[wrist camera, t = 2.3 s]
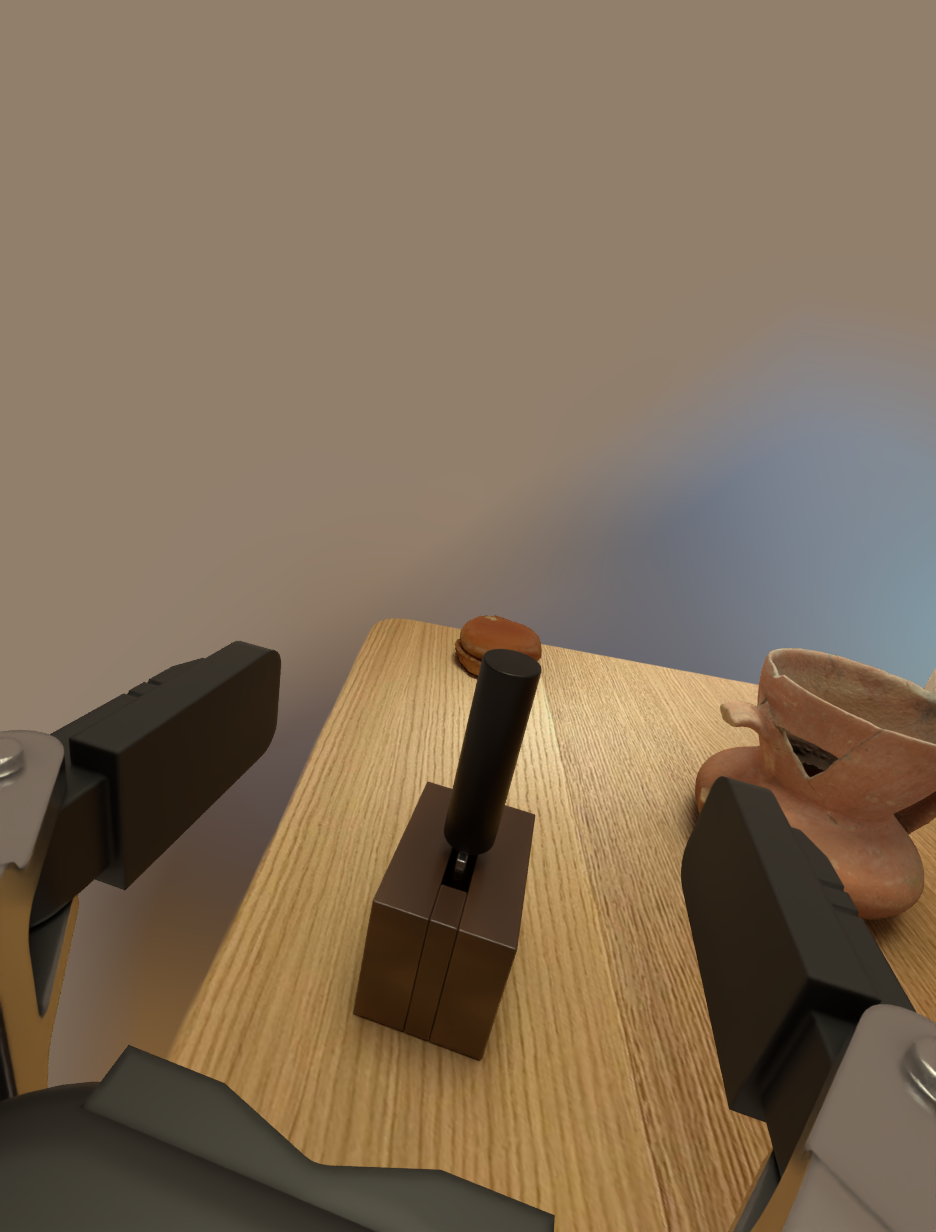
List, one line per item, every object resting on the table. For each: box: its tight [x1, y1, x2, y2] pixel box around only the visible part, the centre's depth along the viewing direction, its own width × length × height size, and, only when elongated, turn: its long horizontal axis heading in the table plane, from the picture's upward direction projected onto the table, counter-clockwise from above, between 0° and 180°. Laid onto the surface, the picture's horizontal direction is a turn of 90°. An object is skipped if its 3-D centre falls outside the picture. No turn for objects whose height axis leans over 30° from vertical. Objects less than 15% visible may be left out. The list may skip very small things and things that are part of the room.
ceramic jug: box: [695, 648, 936, 919], centre depth 37 cm, size 18×14×14 cm
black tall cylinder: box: [444, 649, 541, 890], centre depth 24 cm, size 2×3×17 cm
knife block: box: [353, 782, 535, 1060], centre depth 26 cm, size 6×8×7 cm
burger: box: [455, 615, 542, 676], centre depth 59 cm, size 10×9×5 cm
